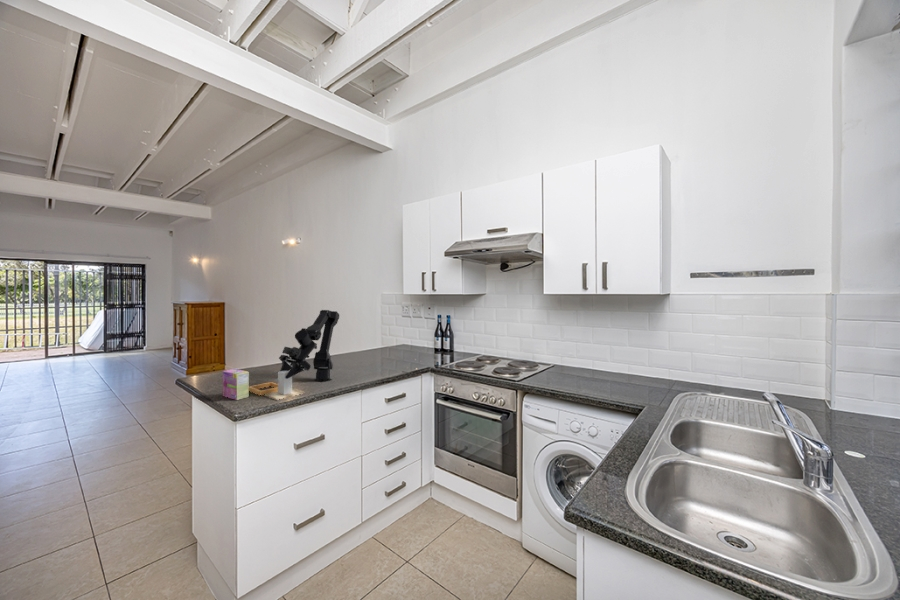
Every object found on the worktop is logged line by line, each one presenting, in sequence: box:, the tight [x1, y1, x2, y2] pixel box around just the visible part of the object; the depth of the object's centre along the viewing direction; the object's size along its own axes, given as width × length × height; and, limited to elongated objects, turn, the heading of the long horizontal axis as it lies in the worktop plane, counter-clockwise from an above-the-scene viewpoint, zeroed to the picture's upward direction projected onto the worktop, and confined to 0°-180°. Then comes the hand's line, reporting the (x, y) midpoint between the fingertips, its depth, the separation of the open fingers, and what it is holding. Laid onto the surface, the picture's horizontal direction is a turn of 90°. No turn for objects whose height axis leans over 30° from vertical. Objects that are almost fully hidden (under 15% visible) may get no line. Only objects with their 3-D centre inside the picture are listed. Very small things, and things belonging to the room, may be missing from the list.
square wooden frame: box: [249, 381, 278, 396], centre depth 176 cm, size 12×12×2 cm
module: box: [277, 370, 293, 395], centre depth 171 cm, size 4×5×10 cm
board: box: [264, 387, 306, 401], centre depth 171 cm, size 14×10×1 cm
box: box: [222, 368, 250, 401], centre depth 165 cm, size 10×6×12 cm, turn 62°
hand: (282, 377), depth 169 cm, fingers open, 6 cm apart
